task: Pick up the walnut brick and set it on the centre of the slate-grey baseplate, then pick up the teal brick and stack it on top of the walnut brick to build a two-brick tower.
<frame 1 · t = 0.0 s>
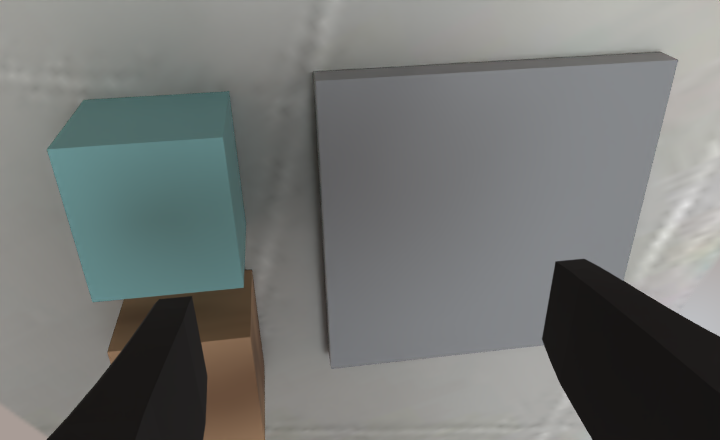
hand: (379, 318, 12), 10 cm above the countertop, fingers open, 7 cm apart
baseplate: (478, 217, 23), on the countertop
walnut brick: (201, 324, 24), on the countertop
teal brick: (171, 165, 21), on the countertop
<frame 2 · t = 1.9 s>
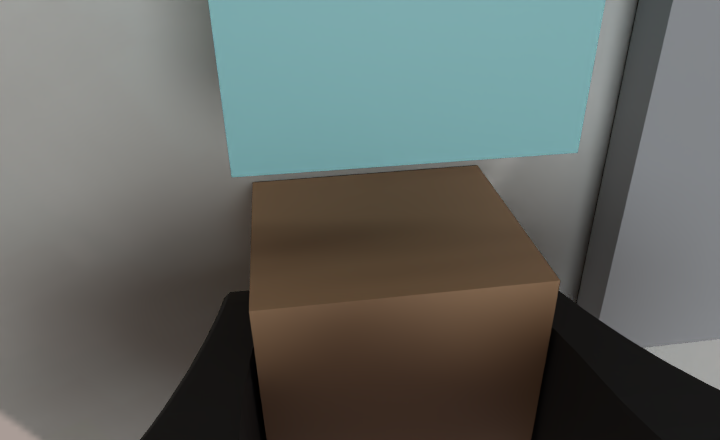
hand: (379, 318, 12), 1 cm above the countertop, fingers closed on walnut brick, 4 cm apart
walnut brick: (368, 276, 13), on the countertop, touching gripper
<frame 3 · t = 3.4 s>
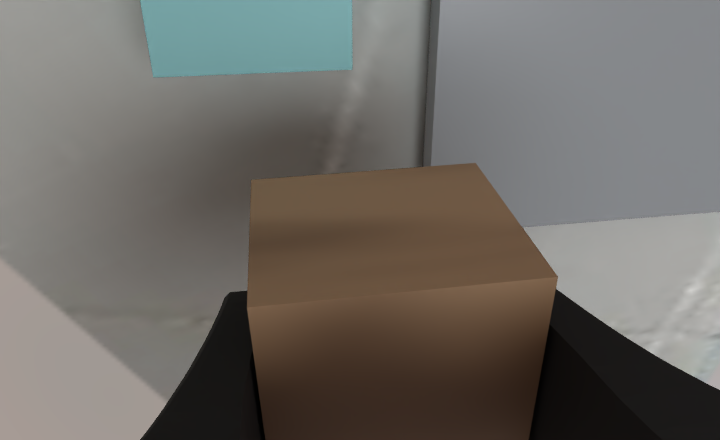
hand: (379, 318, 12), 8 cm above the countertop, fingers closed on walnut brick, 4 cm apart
baseplate: (619, 36, 19), on the countertop
walnut brick: (367, 274, 13), point 7 cm above the countertop, touching gripper
when the fingers open (3 cm above the countertop, at t = 5.3 s): walnut brick stays where it is, resting on baseplate.
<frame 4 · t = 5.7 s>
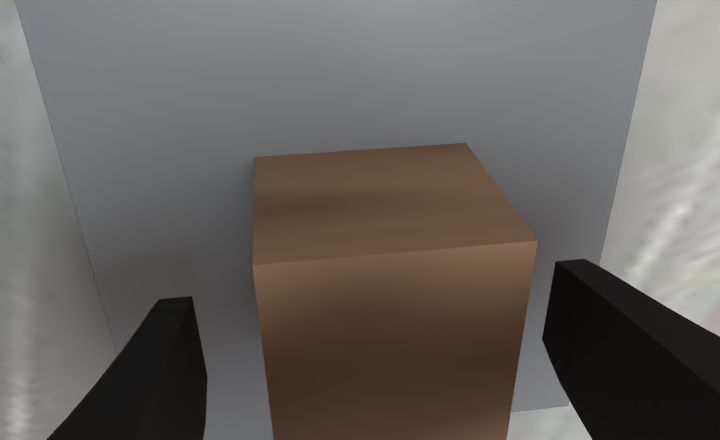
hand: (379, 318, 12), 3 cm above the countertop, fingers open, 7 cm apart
baseplate: (356, 230, 15), on the countertop
walnut brick: (363, 249, 14), point 1 cm above the countertop, touching baseplate
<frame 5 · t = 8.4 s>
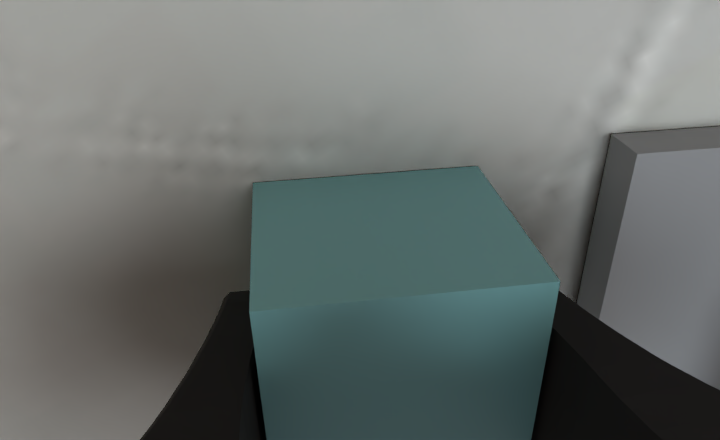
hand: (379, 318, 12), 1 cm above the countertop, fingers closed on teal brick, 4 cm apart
teal brick: (368, 277, 13), on the countertop, touching gripper
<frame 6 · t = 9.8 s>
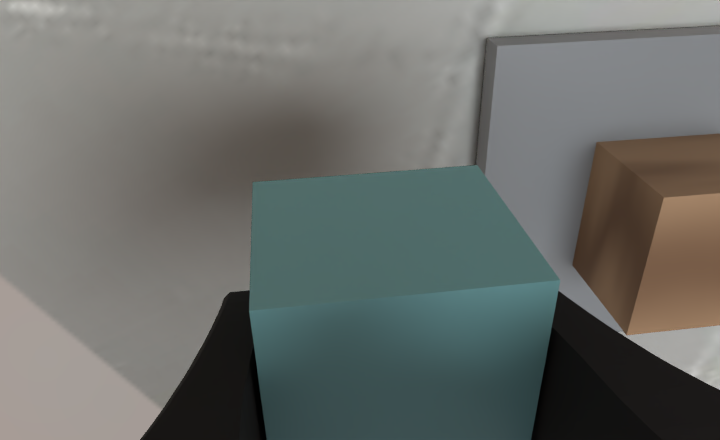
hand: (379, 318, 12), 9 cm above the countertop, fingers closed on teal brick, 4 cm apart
baseplate: (627, 191, 23), on the countertop
walnut brick: (642, 202, 22), point 1 cm above the countertop, touching baseplate
teal brick: (368, 276, 13), point 8 cm above the countertop, touching gripper
when the fingers open (7 cm above the countertop, at t = 11.6 s): teal brick stays where it is, resting on walnut brick.
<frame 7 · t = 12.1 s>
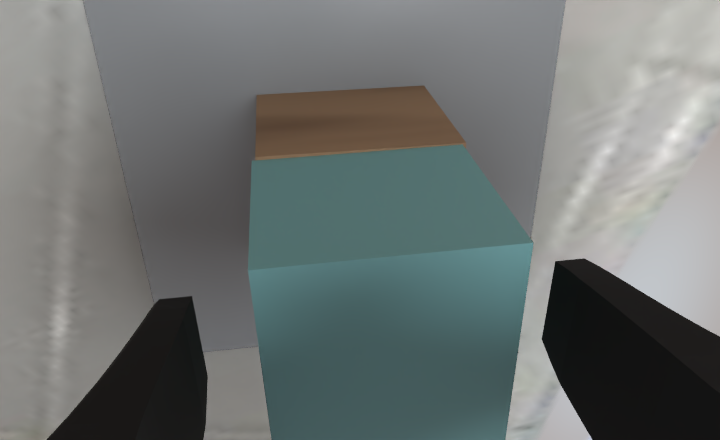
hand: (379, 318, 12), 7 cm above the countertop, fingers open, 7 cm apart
baseplate: (339, 163, 18), on the countertop
walnut brick: (343, 174, 18), point 1 cm above the countertop, touching baseplate, teal brick
teal brick: (361, 251, 14), point 5 cm above the countertop, touching walnut brick
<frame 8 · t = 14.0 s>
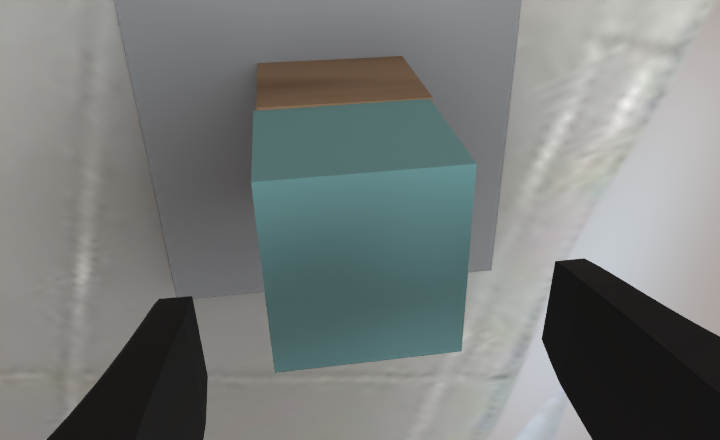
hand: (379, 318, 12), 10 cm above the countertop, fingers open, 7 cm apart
baseplate: (329, 126, 21), on the countertop
walnut brick: (333, 135, 20), point 1 cm above the countertop, touching baseplate, teal brick
teal brick: (346, 192, 17), point 5 cm above the countertop, touching walnut brick
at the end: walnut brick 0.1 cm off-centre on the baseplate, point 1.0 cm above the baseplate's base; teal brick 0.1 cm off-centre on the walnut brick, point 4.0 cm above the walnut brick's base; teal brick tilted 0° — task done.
